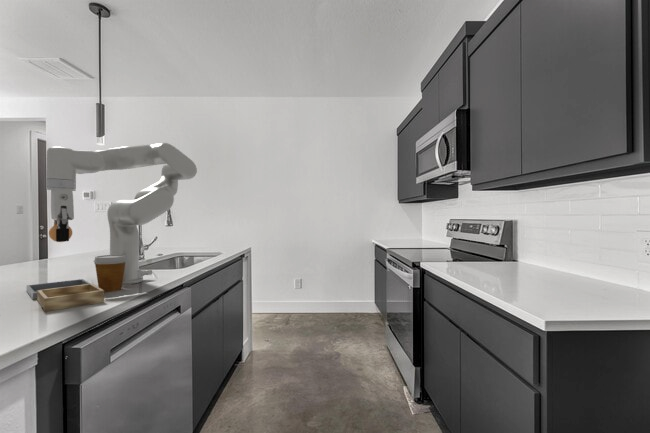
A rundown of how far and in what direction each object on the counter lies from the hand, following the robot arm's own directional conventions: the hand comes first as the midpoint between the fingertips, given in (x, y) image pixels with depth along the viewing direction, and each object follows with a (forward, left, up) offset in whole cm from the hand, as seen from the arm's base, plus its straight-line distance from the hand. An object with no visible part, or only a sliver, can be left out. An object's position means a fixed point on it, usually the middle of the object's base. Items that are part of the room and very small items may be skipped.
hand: (60, 240), depth 107 cm
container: (0, -1, -18) cm, 18 cm away
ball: (0, 0, -1) cm, 1 cm away
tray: (0, +15, -18) cm, 23 cm away
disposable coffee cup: (-12, +8, -18) cm, 23 cm away
